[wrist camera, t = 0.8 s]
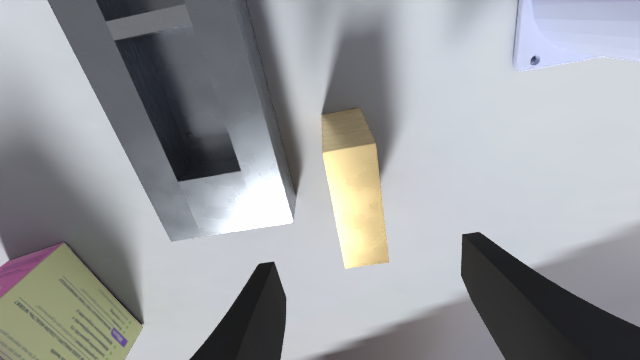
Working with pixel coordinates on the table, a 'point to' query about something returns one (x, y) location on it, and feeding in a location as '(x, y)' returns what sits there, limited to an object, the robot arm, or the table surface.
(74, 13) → the block
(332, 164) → the clip
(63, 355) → the box
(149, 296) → the table surface
